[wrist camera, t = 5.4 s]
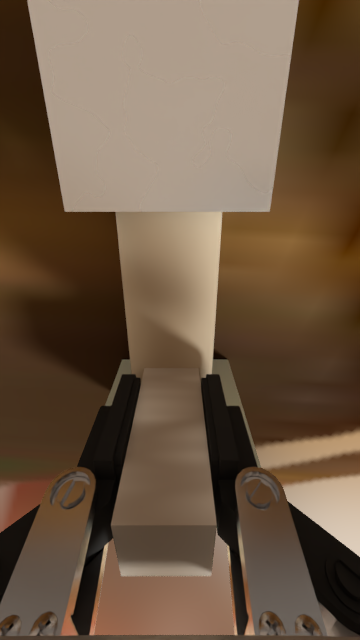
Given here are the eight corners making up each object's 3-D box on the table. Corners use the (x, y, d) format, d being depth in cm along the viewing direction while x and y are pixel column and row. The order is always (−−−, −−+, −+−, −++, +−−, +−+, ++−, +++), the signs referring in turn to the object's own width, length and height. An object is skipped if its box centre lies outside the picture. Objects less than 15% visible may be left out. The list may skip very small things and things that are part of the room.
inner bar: (216, 93, 10) (482, -695, 1) (201, 413, 17) (224, 633, 8) (123, 93, 10) (-276, -695, 1) (147, 413, 17) (113, 633, 8)
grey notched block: (271, -96, 10) (513, -890, 3) (242, 207, 15) (303, 211, 7) (69, -96, 10) (-223, -890, 3) (104, 207, 15) (30, 211, 7)
